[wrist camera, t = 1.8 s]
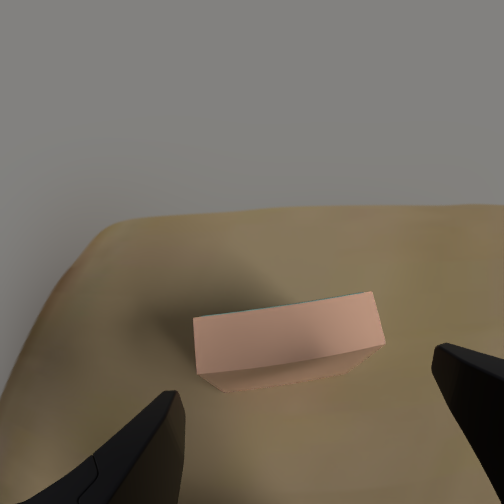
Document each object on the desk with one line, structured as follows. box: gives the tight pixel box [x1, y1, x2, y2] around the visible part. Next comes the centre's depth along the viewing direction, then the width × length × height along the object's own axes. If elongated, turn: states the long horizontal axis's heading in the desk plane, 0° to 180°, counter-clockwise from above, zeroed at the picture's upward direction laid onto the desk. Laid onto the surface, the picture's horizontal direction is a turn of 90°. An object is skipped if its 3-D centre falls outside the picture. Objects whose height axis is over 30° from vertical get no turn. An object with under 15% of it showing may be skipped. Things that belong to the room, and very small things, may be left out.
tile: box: [193, 291, 386, 393], centre depth 17 cm, size 3×8×8 cm, turn 97°
